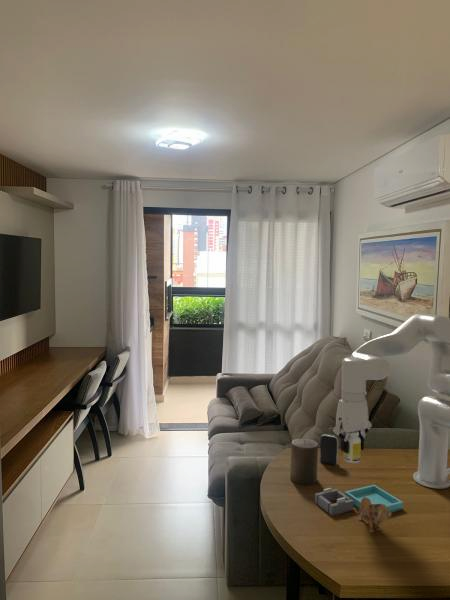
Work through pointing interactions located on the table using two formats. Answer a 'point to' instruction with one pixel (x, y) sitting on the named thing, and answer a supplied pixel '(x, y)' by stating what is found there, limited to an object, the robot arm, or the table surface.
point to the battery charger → (329, 449)
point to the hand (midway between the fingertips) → (352, 449)
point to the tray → (375, 497)
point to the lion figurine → (373, 512)
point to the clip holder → (341, 506)
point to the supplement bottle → (353, 448)
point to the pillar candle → (304, 461)
